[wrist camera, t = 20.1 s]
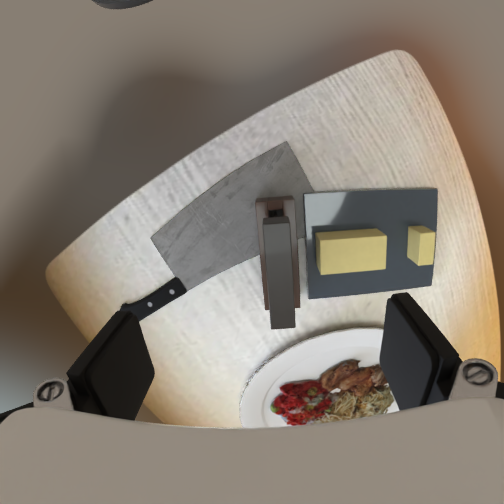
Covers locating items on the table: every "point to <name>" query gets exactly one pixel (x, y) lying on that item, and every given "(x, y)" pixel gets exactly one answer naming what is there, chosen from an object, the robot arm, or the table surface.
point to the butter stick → (350, 251)
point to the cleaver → (223, 225)
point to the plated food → (320, 382)
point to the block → (289, 210)
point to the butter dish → (370, 217)
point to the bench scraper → (279, 271)
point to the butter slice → (421, 245)
